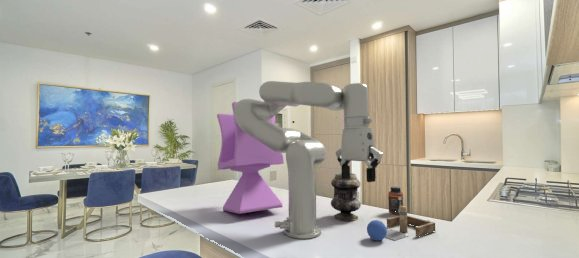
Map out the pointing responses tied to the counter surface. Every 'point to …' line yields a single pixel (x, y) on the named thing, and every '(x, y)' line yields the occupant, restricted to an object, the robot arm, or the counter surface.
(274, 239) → the counter surface
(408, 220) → the wooden tray
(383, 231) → the ball
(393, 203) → the supplement bottle
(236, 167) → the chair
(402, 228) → the pin
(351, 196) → the apothecary jar
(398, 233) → the translucent flat square slab
